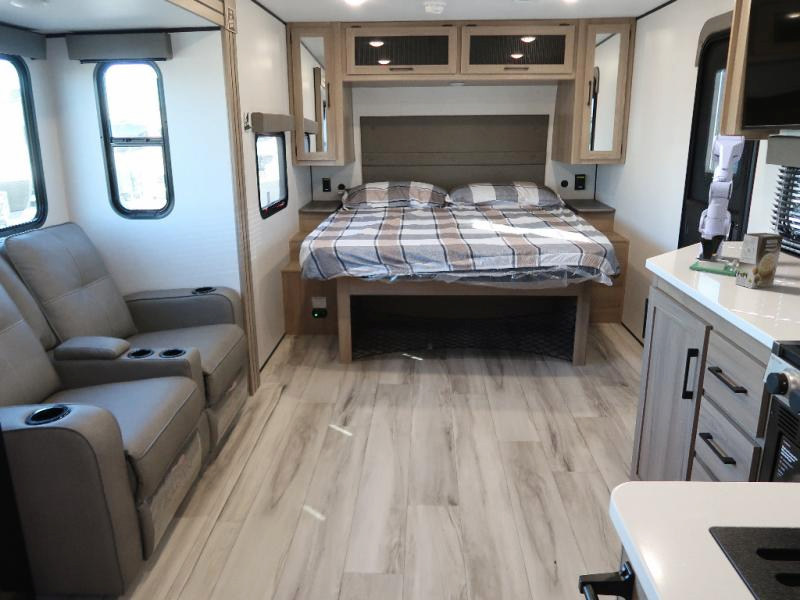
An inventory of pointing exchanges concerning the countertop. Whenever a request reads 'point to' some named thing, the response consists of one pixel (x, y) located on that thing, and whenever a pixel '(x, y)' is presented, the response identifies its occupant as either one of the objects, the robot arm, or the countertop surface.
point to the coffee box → (758, 260)
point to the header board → (716, 267)
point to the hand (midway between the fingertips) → (709, 257)
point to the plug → (713, 259)
